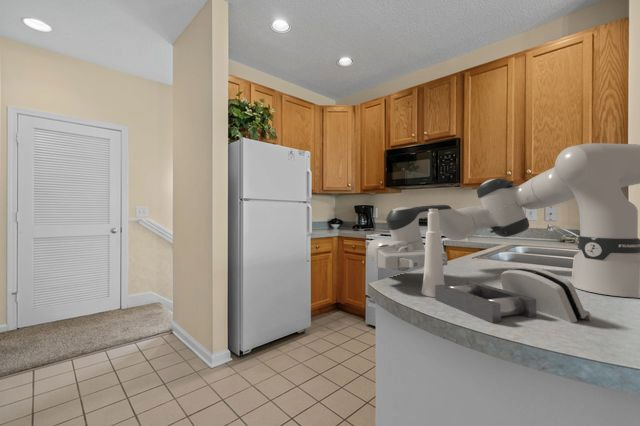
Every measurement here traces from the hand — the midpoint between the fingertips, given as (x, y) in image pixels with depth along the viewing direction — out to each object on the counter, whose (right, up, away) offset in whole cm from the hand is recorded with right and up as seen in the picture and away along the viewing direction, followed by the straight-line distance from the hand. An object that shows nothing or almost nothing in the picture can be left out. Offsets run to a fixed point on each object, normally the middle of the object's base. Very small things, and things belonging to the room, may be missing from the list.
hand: (430, 263), depth 77 cm
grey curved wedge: (+19, -8, -12) cm, 24 cm away
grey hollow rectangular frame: (+7, -8, -11) cm, 15 cm away
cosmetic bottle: (+1, -8, -1) cm, 8 cm away
